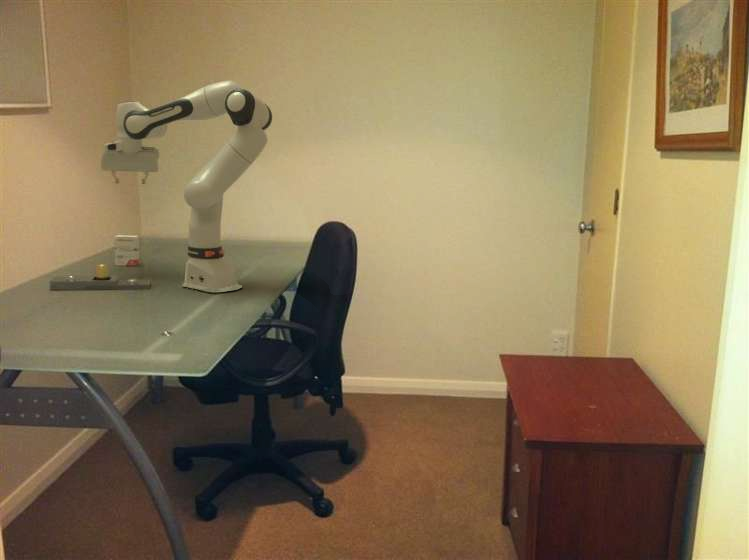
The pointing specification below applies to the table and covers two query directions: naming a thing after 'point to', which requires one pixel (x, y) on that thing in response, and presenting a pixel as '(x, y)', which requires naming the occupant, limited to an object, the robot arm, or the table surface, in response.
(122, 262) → the ink box
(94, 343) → the table surface
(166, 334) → the table surface
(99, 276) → the brass pin
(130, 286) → the latch strike plate
